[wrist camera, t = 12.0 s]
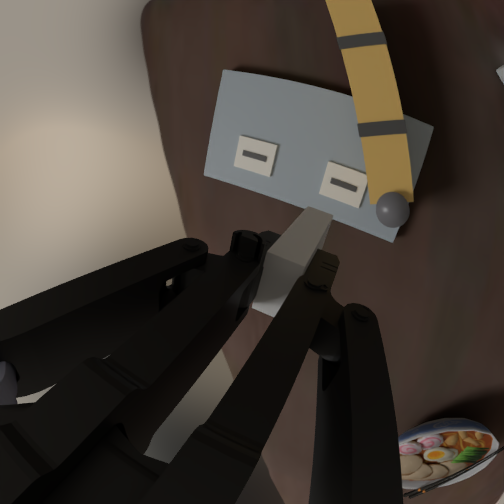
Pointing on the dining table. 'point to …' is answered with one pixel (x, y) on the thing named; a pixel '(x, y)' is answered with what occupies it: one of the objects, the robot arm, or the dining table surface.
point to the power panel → (299, 147)
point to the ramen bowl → (444, 453)
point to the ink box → (501, 73)
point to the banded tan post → (375, 108)
